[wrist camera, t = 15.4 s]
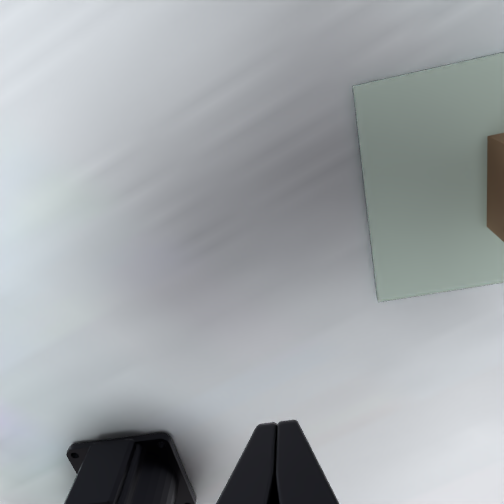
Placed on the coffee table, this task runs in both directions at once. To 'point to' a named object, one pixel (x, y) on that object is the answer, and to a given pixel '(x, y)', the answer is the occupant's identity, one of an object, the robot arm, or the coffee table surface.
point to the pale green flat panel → (431, 176)
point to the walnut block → (495, 184)
